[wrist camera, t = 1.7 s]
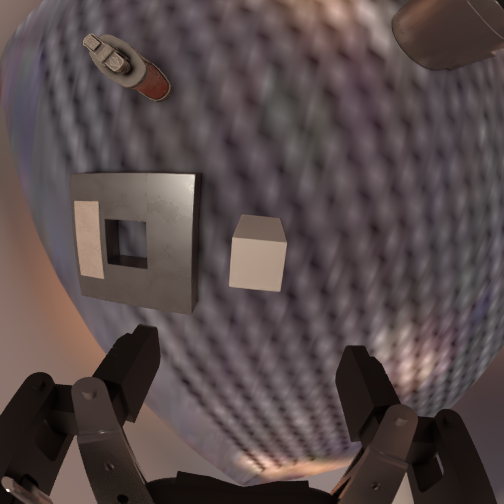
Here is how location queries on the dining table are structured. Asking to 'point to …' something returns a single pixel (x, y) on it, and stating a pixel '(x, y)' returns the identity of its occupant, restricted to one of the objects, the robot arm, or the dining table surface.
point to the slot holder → (157, 229)
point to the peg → (258, 253)
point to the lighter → (128, 67)
